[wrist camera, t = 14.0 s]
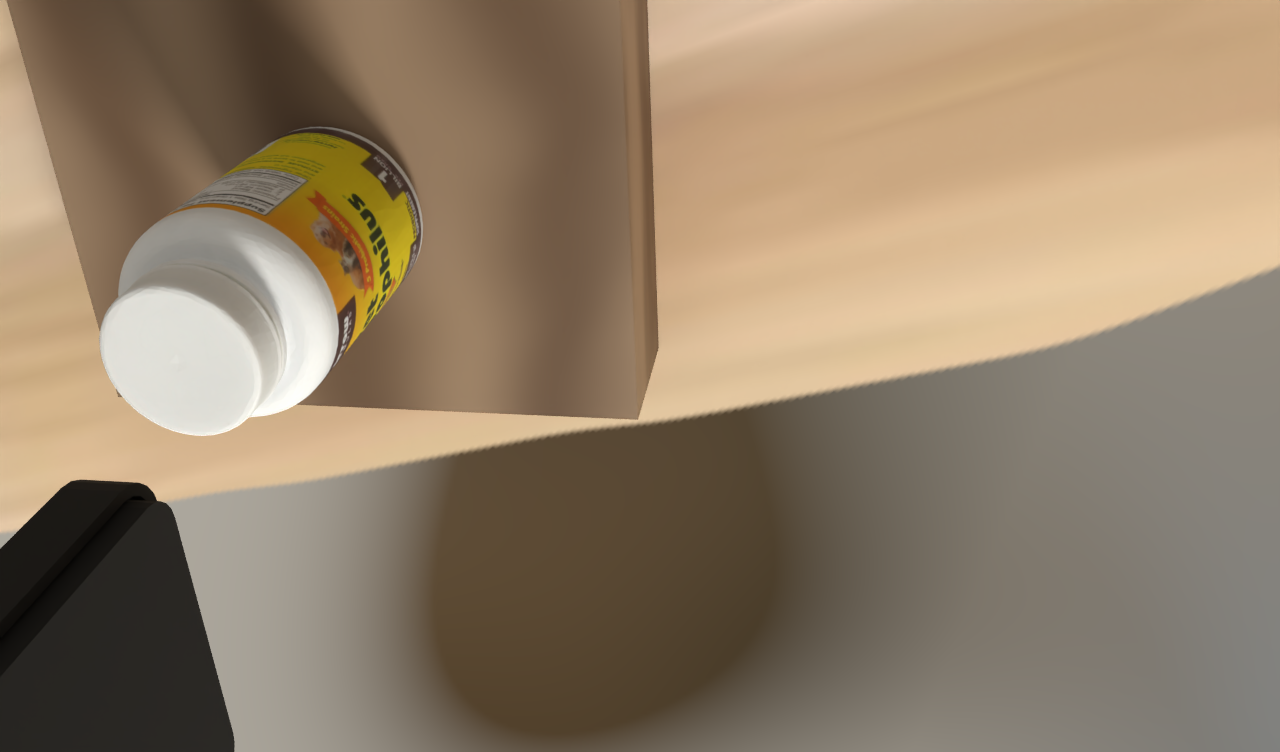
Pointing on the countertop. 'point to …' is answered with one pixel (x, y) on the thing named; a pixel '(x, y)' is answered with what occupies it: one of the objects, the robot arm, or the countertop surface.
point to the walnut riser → (419, 143)
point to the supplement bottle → (260, 282)
